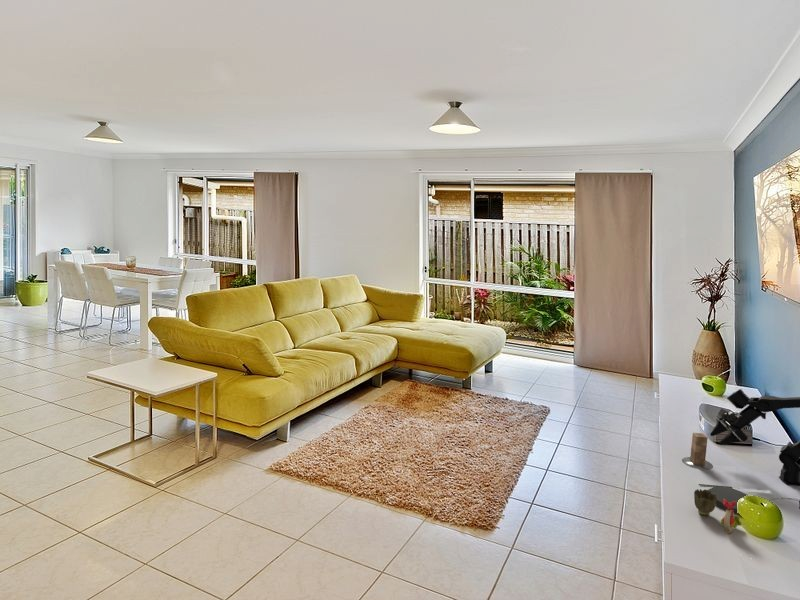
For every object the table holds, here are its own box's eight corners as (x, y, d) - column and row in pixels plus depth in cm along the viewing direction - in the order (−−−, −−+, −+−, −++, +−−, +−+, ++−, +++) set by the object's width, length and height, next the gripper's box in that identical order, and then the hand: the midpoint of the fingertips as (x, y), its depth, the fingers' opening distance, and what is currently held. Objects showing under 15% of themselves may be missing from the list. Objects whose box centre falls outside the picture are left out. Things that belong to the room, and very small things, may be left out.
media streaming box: (699, 497, 206) (700, 490, 206) (724, 490, 212) (725, 483, 212) (736, 516, 193) (737, 509, 193) (762, 508, 199) (762, 501, 199)
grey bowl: (706, 460, 238) (707, 449, 237) (717, 472, 226) (718, 461, 226) (677, 458, 240) (678, 447, 239) (687, 470, 228) (688, 459, 227)
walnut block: (700, 461, 235) (703, 433, 233) (704, 465, 231) (707, 437, 229) (690, 460, 235) (692, 432, 234) (693, 465, 231) (696, 436, 229)
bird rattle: (738, 541, 181) (742, 521, 187) (740, 519, 176) (744, 499, 182) (717, 535, 185) (722, 515, 191) (718, 513, 180) (723, 493, 186)
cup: (687, 510, 196) (689, 490, 195) (702, 507, 199) (704, 487, 198) (705, 521, 189) (707, 500, 188) (720, 517, 192) (722, 497, 191)
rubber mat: (721, 477, 222) (721, 476, 222) (732, 489, 213) (732, 487, 213) (691, 474, 224) (691, 473, 224) (700, 486, 215) (700, 485, 214)
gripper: (723, 396, 236) (694, 418, 240) (743, 411, 218) (711, 434, 221) (740, 414, 236) (711, 436, 240) (761, 430, 218) (729, 454, 221)
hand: (715, 439), depth 230 cm, fingers open, 9 cm apart
